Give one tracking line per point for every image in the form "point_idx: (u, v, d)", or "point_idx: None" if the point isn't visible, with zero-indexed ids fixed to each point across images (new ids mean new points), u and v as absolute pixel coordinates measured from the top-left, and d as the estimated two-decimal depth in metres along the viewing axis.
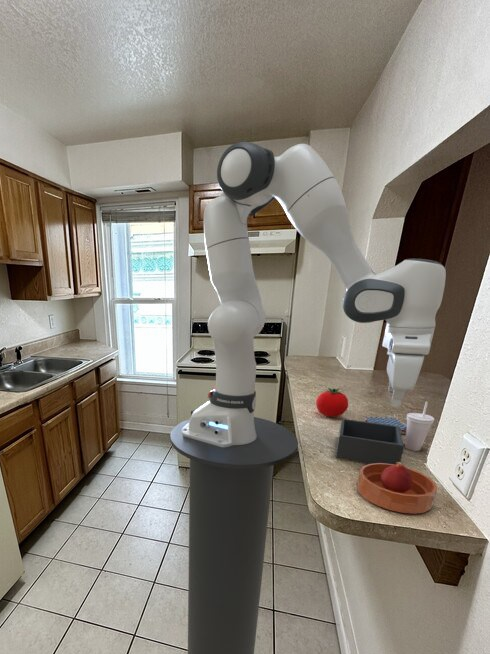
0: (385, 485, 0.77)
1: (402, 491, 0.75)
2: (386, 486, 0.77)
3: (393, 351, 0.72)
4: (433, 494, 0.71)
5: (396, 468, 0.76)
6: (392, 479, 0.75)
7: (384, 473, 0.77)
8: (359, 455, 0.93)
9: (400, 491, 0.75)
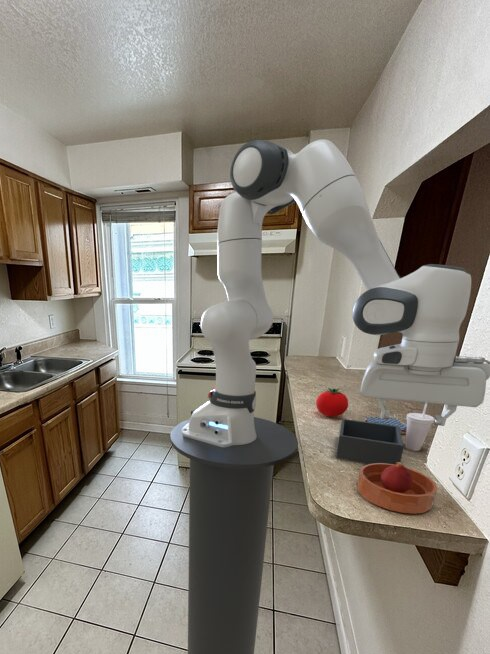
0: (385, 485, 0.77)
1: (402, 491, 0.75)
2: (386, 486, 0.77)
3: None
4: (433, 494, 0.71)
5: (396, 468, 0.76)
6: (392, 479, 0.75)
7: (384, 473, 0.77)
8: (359, 455, 0.93)
9: (400, 491, 0.75)
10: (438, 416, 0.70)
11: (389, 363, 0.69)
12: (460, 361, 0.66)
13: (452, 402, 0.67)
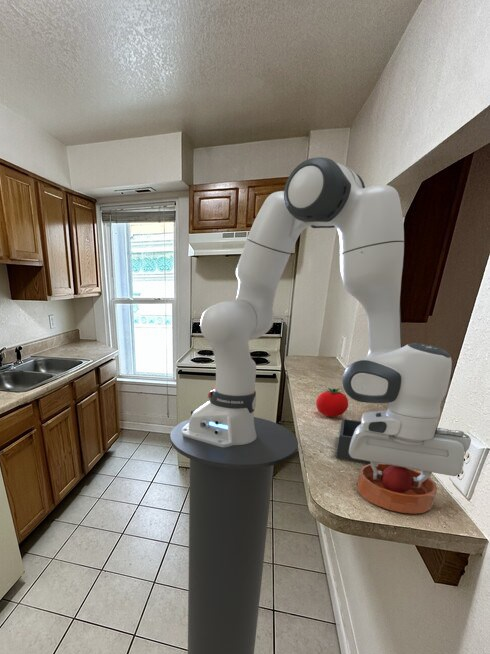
0: (385, 485, 0.77)
1: (402, 491, 0.75)
2: (386, 486, 0.77)
3: None
4: (433, 494, 0.71)
5: (396, 468, 0.76)
6: (392, 479, 0.75)
7: (384, 473, 0.77)
8: None
9: (400, 491, 0.75)
10: (414, 479, 0.75)
11: (375, 431, 0.73)
12: (441, 433, 0.70)
13: (433, 470, 0.72)
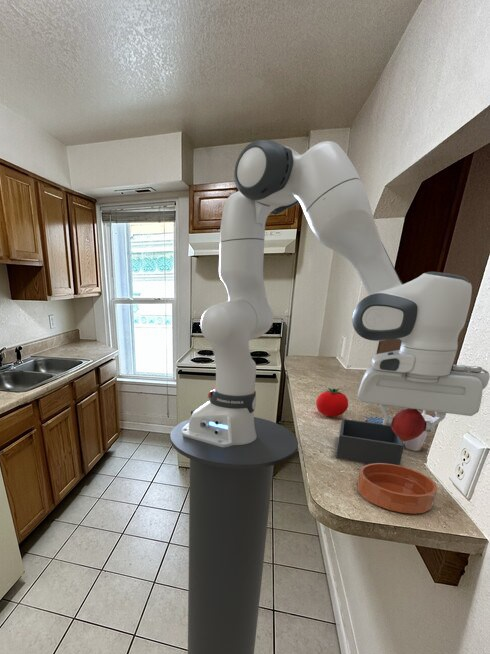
0: (396, 430, 0.73)
1: (414, 435, 0.71)
2: (397, 431, 0.73)
3: None
4: (433, 494, 0.71)
5: (408, 411, 0.71)
6: (404, 422, 0.71)
7: (395, 417, 0.73)
8: (359, 455, 0.93)
9: (412, 435, 0.71)
10: (427, 423, 0.71)
11: (387, 370, 0.69)
12: (457, 370, 0.66)
13: (448, 410, 0.68)
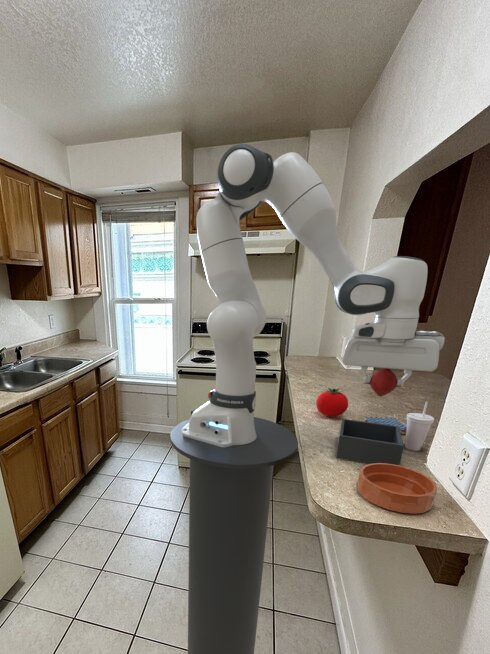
0: (373, 386, 0.89)
1: (388, 390, 0.88)
2: (374, 387, 0.89)
3: None
4: (433, 494, 0.71)
5: (382, 370, 0.88)
6: (379, 379, 0.88)
7: (373, 376, 0.90)
8: (359, 455, 0.93)
9: (386, 390, 0.88)
10: (398, 379, 0.88)
11: (364, 336, 0.86)
12: (420, 334, 0.83)
13: (413, 368, 0.84)
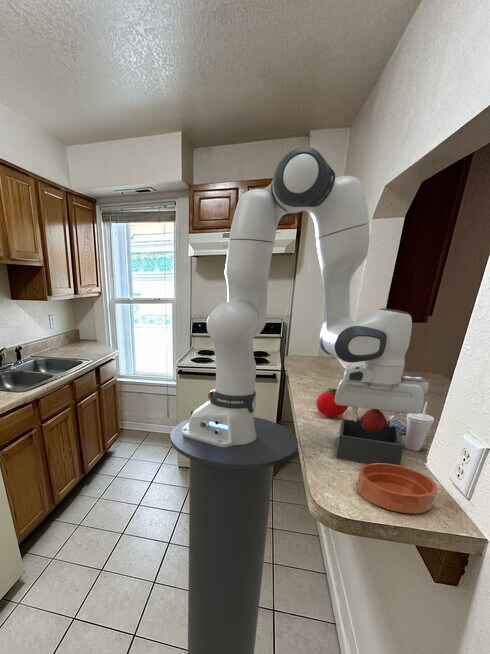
0: (364, 425, 0.95)
1: (377, 429, 0.94)
2: (364, 426, 0.95)
3: None
4: (433, 494, 0.71)
5: (372, 411, 0.94)
6: (369, 419, 0.94)
7: (363, 416, 0.96)
8: (359, 455, 0.93)
9: (375, 429, 0.94)
10: (387, 419, 0.94)
11: (354, 380, 0.92)
12: (406, 379, 0.89)
13: (400, 410, 0.90)
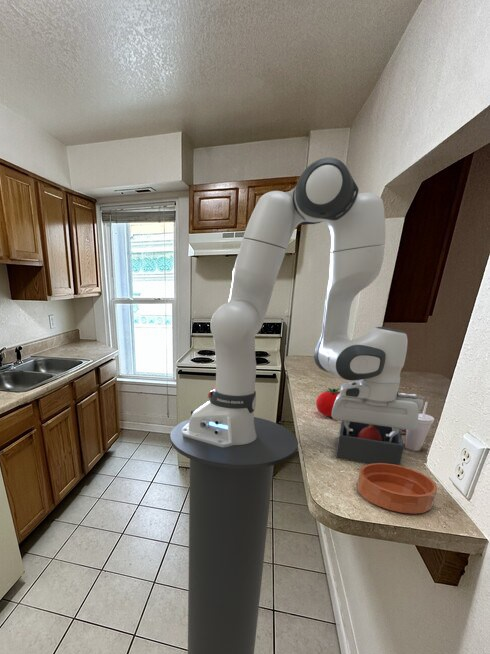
0: None
1: None
2: None
3: None
4: (433, 494, 0.71)
5: (368, 429, 0.96)
6: (365, 437, 0.95)
7: (359, 433, 0.97)
8: (359, 455, 0.93)
9: None
10: (387, 435, 0.95)
11: (351, 396, 0.93)
12: (401, 396, 0.91)
13: (395, 426, 0.92)
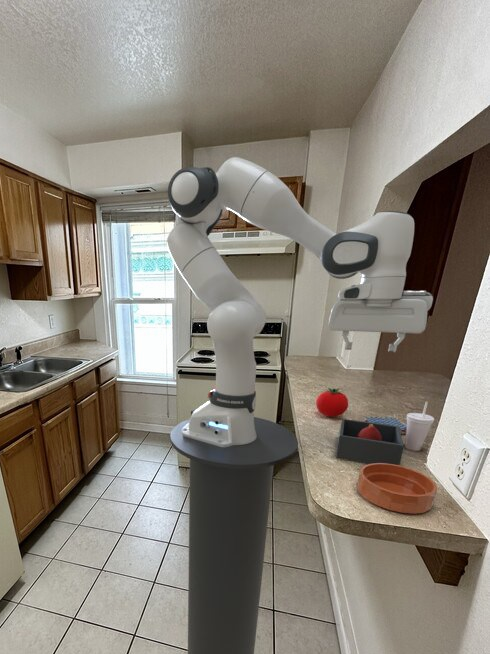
0: None
1: None
2: None
3: None
4: (433, 494, 0.71)
5: (368, 429, 0.96)
6: (365, 437, 0.95)
7: (359, 433, 0.97)
8: (359, 455, 0.93)
9: None
10: (391, 344, 0.84)
11: (349, 298, 0.82)
12: (407, 294, 0.79)
13: (401, 330, 0.81)
